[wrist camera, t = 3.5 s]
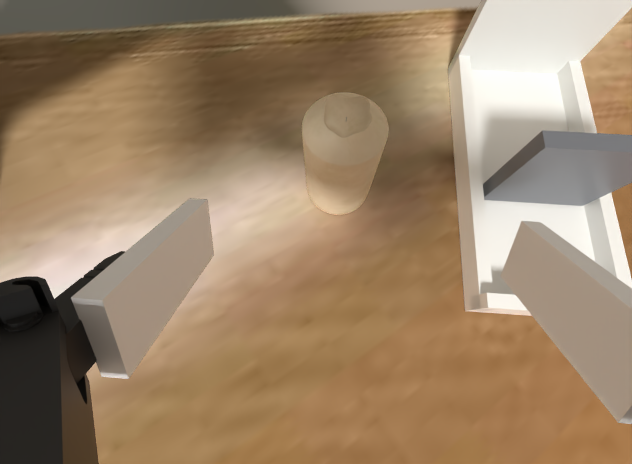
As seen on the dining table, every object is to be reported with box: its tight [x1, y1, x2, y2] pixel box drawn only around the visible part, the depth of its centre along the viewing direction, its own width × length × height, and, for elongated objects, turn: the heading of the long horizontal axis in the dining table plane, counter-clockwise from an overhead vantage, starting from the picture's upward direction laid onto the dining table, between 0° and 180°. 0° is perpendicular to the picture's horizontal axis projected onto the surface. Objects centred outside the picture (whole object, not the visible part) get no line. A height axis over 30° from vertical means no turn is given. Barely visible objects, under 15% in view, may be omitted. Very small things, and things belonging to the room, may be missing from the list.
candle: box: [302, 92, 389, 215], centre depth 23 cm, size 6×6×10 cm
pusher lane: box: [448, 0, 632, 316], centre depth 24 cm, size 11×24×9 cm, turn 176°
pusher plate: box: [483, 130, 632, 206], centre depth 22 cm, size 8×1×8 cm, turn 86°
